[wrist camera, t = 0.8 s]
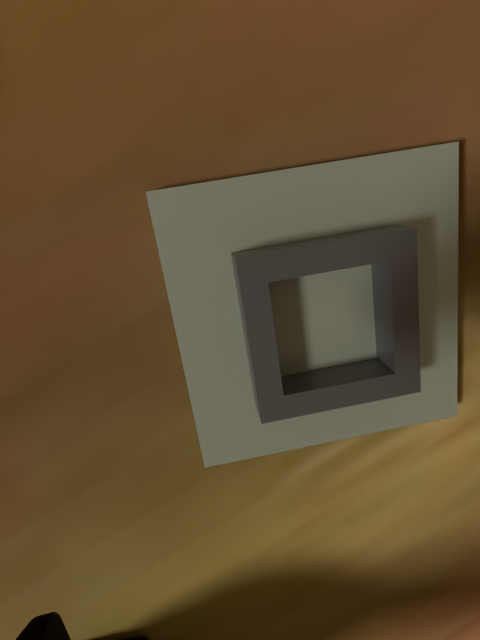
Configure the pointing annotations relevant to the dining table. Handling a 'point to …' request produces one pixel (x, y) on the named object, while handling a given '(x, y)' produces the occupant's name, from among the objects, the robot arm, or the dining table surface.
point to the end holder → (315, 299)
